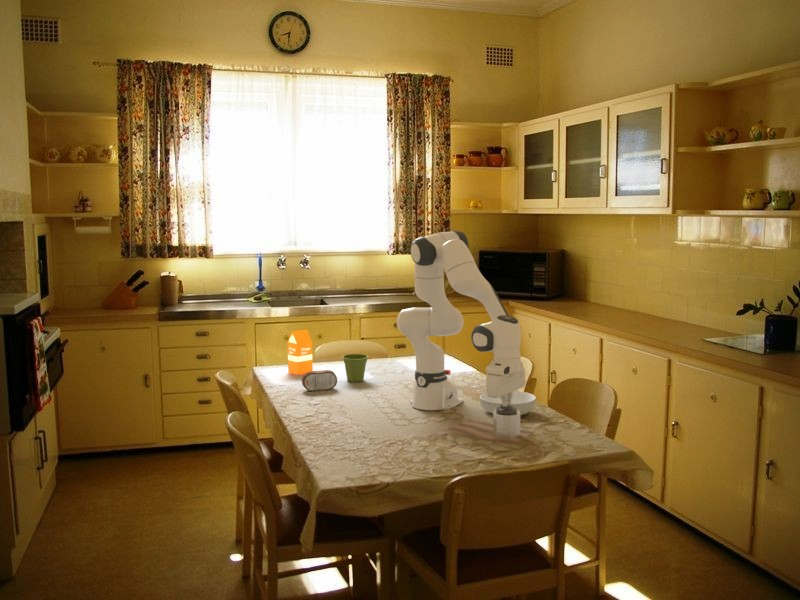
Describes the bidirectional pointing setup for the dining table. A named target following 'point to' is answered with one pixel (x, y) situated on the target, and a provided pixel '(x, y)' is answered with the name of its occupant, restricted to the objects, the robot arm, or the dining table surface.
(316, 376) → the tin
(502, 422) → the white cylinder
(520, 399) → the serving bowl
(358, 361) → the plant pot
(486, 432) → the walnut board
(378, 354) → the dining table surface
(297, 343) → the orange juice
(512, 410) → the control knob
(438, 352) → the robot arm
